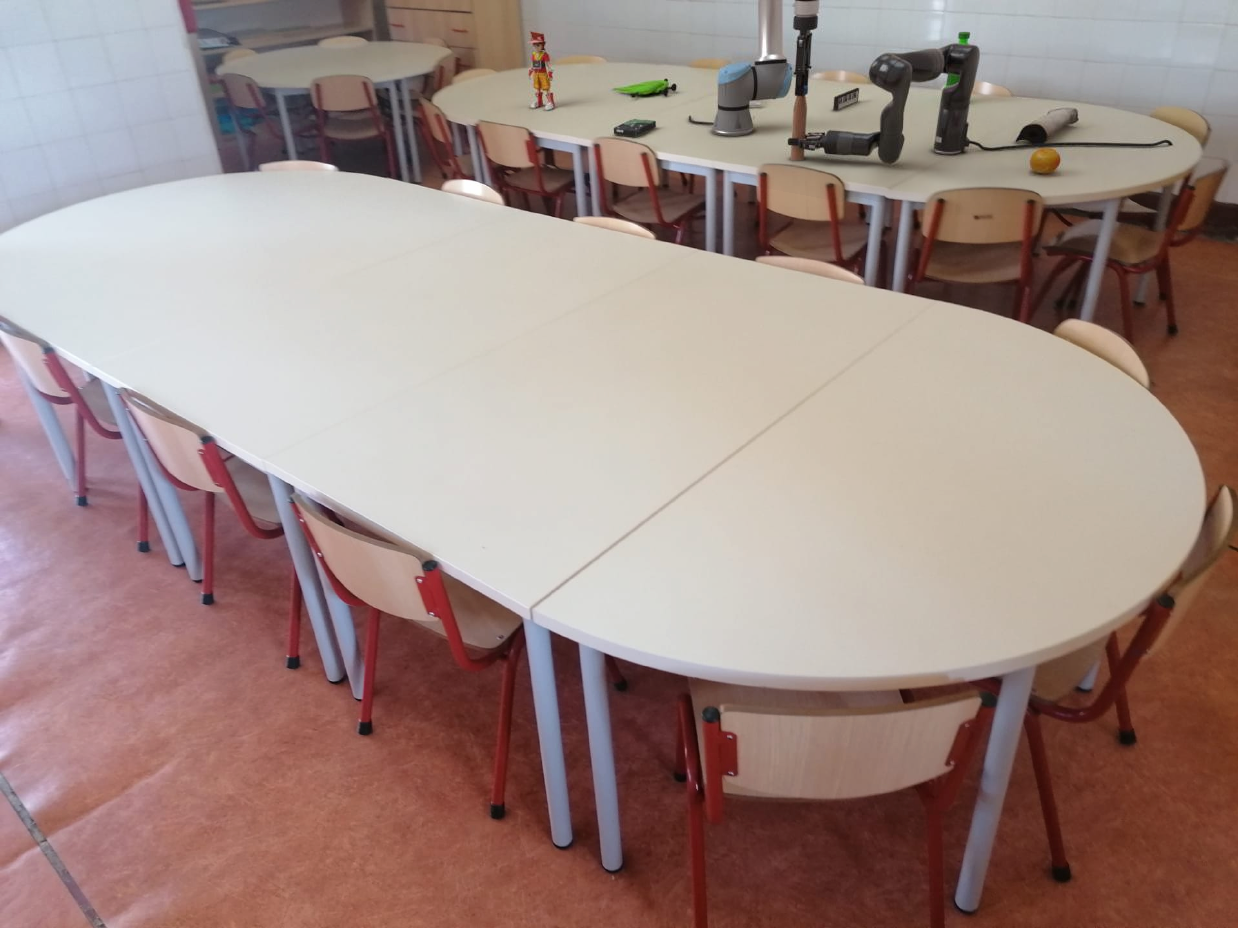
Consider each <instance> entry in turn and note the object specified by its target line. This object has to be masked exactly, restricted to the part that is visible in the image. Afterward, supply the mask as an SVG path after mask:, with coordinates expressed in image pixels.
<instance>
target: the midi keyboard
mask: <svg viewBox="0 0 1238 928" xmlns="http://www.w3.org/2000/svg"><path fill="white" fill-rule="evenodd" d="M859 94H860V88H859V87H856V88H853V89H850V90H848V91H846V92H843V93H840V94H838V95H835V96H834V97H833V108H832V110H833V111H838V110H840V109H842V108H844V107H846V106H849V105H852V104H854V103H856V102H858V101H859Z"/></svg>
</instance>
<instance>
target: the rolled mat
mask: <svg viewBox="0 0 1238 928" xmlns="http://www.w3.org/2000/svg"><path fill="white" fill-rule="evenodd" d="M1079 120H1080V119H1079V111H1078V109H1077V108H1075V107H1073V108H1072V107H1059V108H1054V109H1049V111H1048V112H1046V114H1045V115H1042V116H1040V117H1039V118H1037V119H1035V120H1033V121H1031V122H1029V123H1028V124H1026V125H1023V127H1022V128H1021V130H1020V131H1019V134H1018V135H1017V137H1016V138H1015V141H1014V142H1015V143H1018V142H1020V141H1026V142H1028V144H1039V143H1047V141H1049V140H1050V139H1051V138H1052V136H1054V135H1055V134H1056V133H1057V132H1058V131H1059V130H1061V129H1063V127H1065V126H1069V125H1074V124H1077V122H1079Z"/></svg>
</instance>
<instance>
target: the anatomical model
mask: <svg viewBox="0 0 1238 928" xmlns="http://www.w3.org/2000/svg"><path fill="white" fill-rule="evenodd" d="M762 105H763V104H762V102H758V101H757V100H755V101H750V102H749V109H750V108H751V107H761V106H762Z"/></svg>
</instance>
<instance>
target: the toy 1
mask: <svg viewBox="0 0 1238 928" xmlns="http://www.w3.org/2000/svg"><path fill="white" fill-rule="evenodd" d="M529 33H530V35H531V36H528V37H527V38H528V39H529V40H528V41H527V43H529V44H530V43H531V44H532V48H533V50H534V51H533V52H532V55H531V58H530V59H531V63H530V66H528V74H527V75H528V76H527V77H528V79H529V80H531V75H532V74H533V84H532V85H533V86H532V87H533V88H534V89H535V90H536V92H534V95H535V97H536V100H535V101H533V102H531V105H530V108H531V109H535V108H538V107H542V106H544V101H543V100H544V99H543V95H544V92H546V94H545V97H546V99H547V103H546V104H545V106H544V110H546V111H549V110H553V109H554V107H555V106H556V105H555V99H554V92H551V91H550V90H551V86H552V84H551V82H552V81H553V80H554V77H553V73H554V71H555V70H554V69H552V68H551V63H550V61H551V59H550V58H551V57H550V54H549V53H548V52H547V50H546V48H545V46H546V44H547V41H545V35H544V33H543V32H542V33H539V32H535V31H529Z"/></svg>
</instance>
